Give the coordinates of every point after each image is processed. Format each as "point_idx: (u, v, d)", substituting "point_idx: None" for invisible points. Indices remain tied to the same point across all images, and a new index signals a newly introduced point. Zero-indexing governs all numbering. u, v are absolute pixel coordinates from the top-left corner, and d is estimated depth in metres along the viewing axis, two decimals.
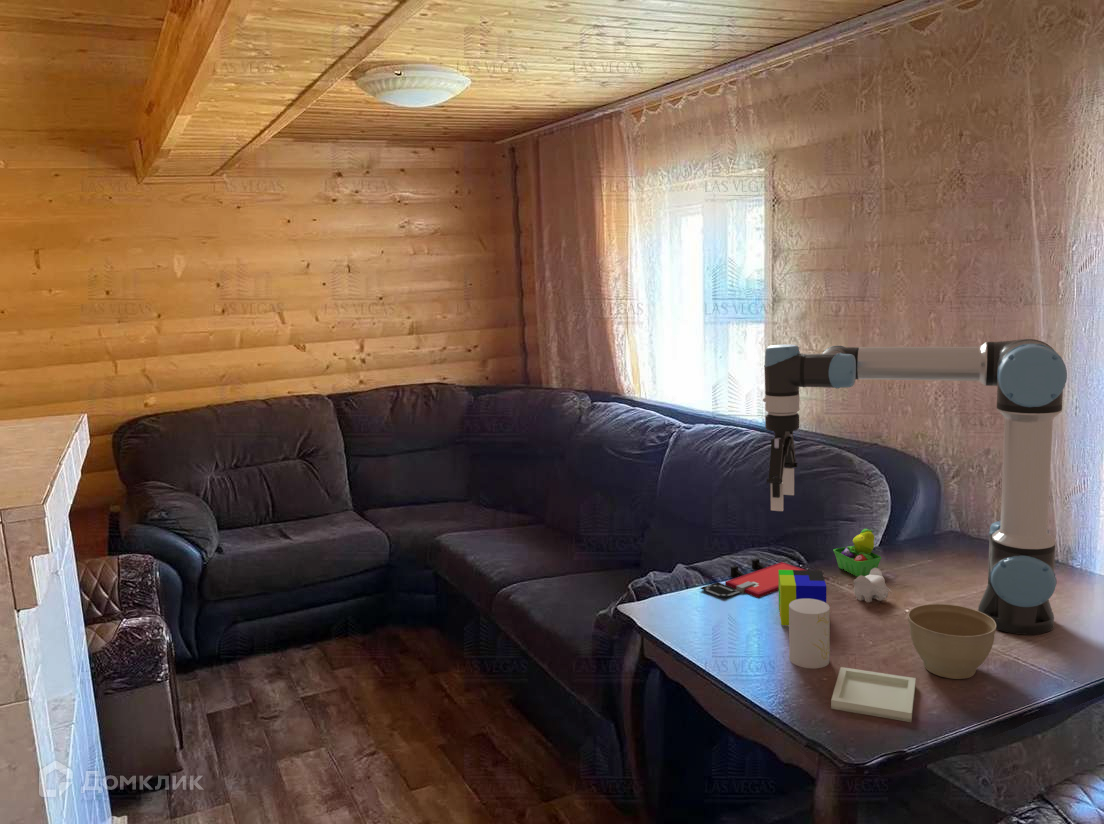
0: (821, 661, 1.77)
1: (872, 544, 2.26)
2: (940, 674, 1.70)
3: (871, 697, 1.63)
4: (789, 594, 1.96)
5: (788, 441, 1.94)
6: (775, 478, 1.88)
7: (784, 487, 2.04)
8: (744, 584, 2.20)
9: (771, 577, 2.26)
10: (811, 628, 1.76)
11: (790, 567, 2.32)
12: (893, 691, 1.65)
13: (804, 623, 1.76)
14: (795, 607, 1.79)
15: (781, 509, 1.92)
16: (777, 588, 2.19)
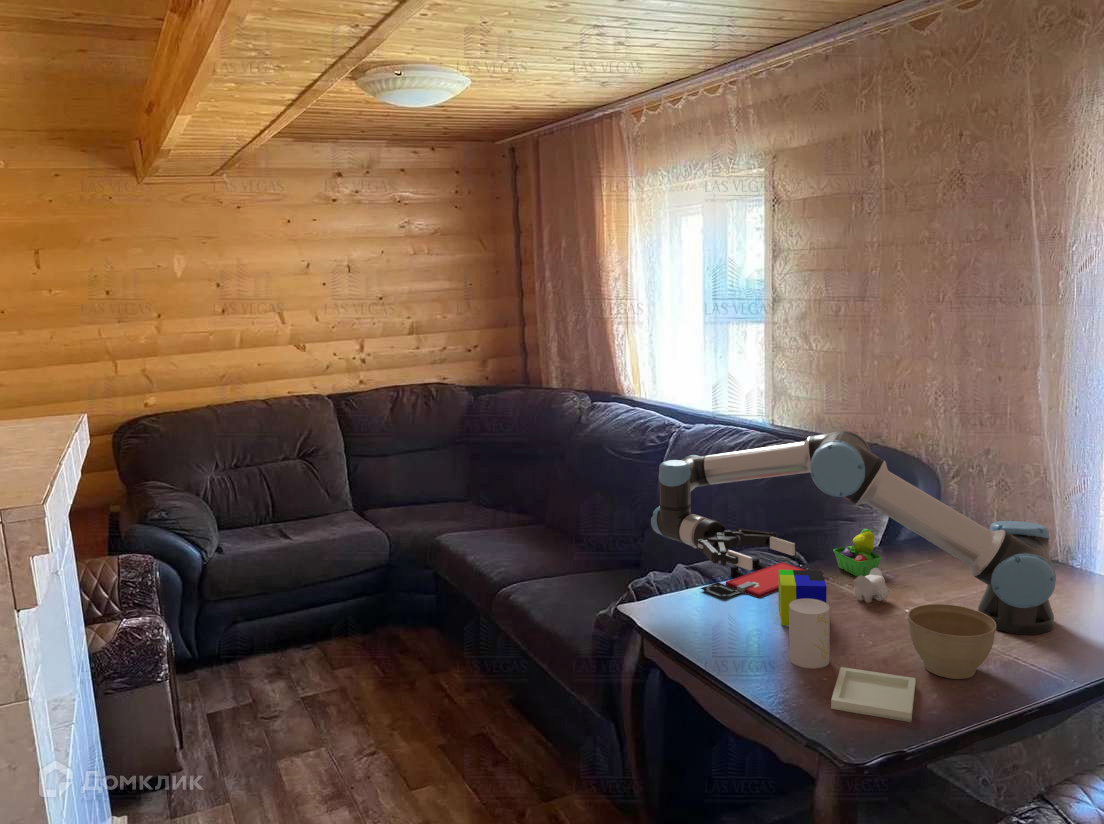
0: (821, 661, 1.77)
1: (872, 544, 2.26)
2: (940, 674, 1.70)
3: (871, 697, 1.63)
4: (789, 594, 1.96)
5: (716, 534, 1.97)
6: (712, 555, 1.87)
7: (786, 551, 1.91)
8: (744, 584, 2.20)
9: (771, 577, 2.26)
10: (811, 628, 1.76)
11: (790, 567, 2.32)
12: (893, 691, 1.65)
13: (804, 623, 1.76)
14: (795, 607, 1.79)
15: (748, 559, 1.82)
16: (777, 588, 2.19)
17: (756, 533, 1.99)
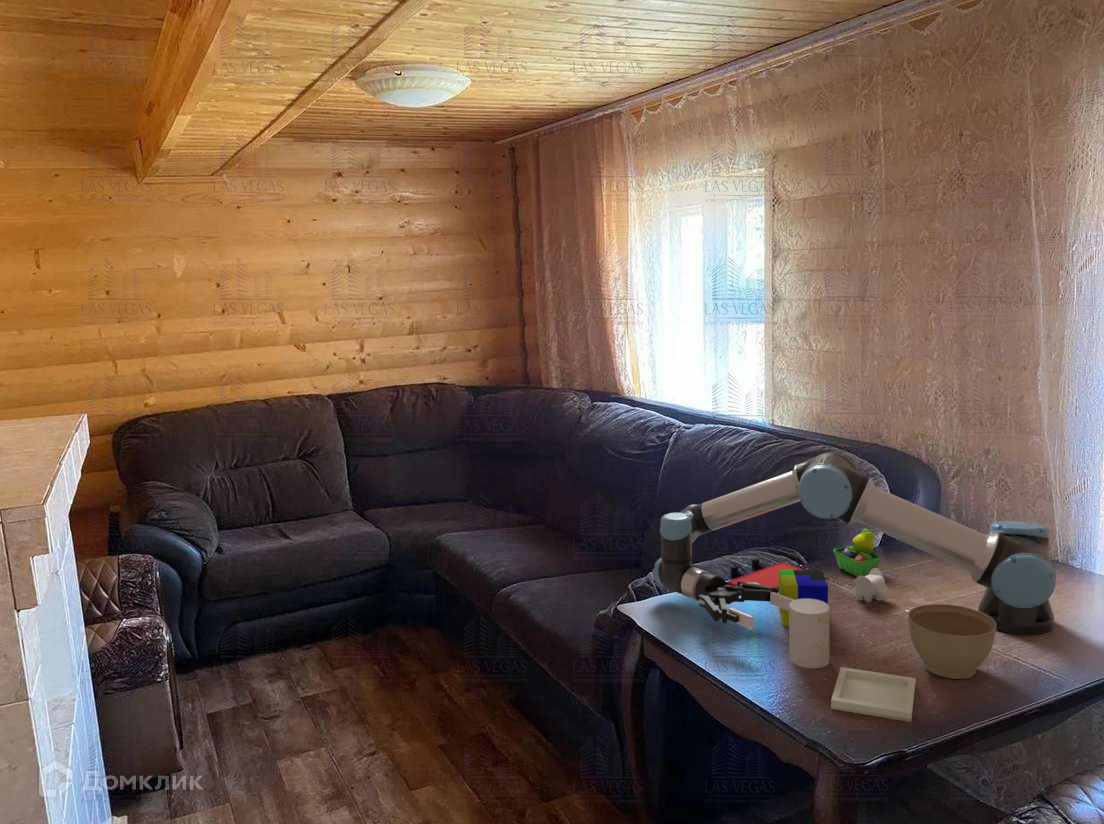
0: (821, 661, 1.77)
1: (872, 544, 2.26)
2: (940, 674, 1.70)
3: (871, 697, 1.63)
4: (791, 594, 1.96)
5: (717, 589, 1.99)
6: (714, 613, 1.89)
7: (786, 607, 1.93)
8: None
9: (771, 577, 2.25)
10: (811, 628, 1.76)
11: (790, 567, 2.32)
12: (893, 691, 1.65)
13: (804, 623, 1.76)
14: (795, 607, 1.79)
15: (749, 618, 1.84)
16: (778, 588, 2.19)
17: (757, 588, 2.01)
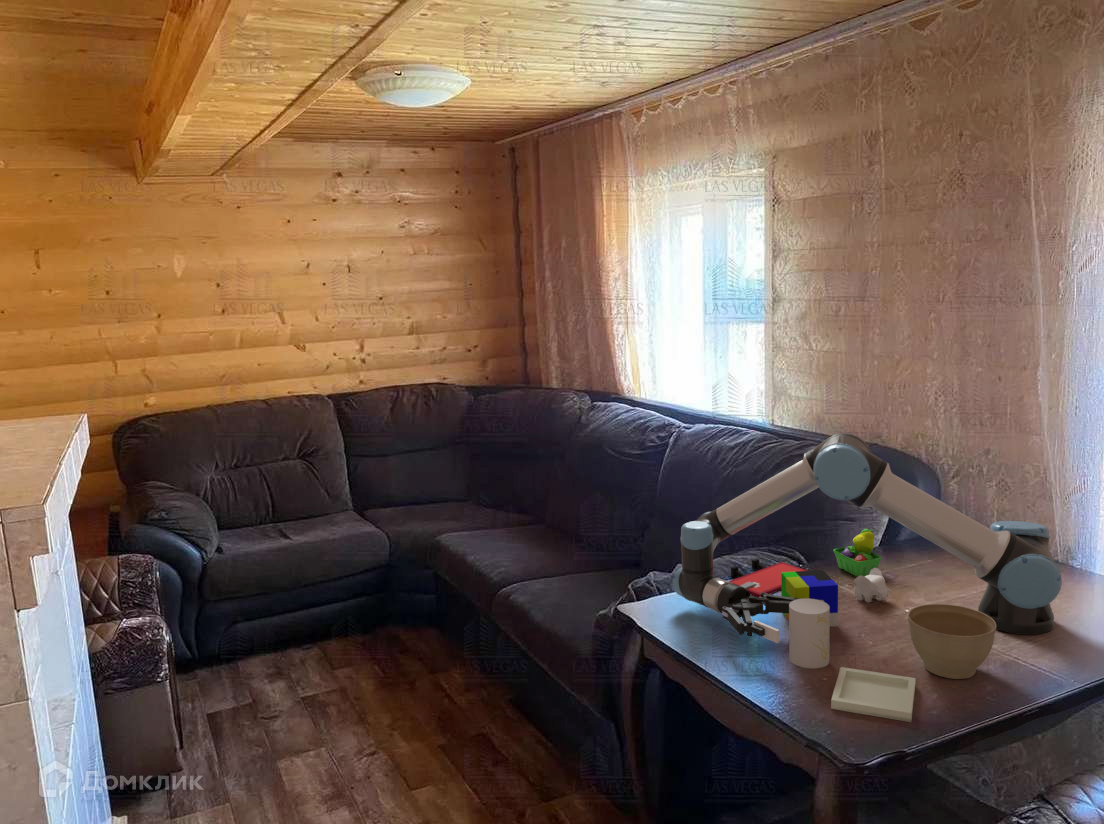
0: (821, 661, 1.77)
1: (872, 544, 2.26)
2: (940, 674, 1.70)
3: (871, 697, 1.63)
4: (802, 596, 1.95)
5: (741, 601, 1.92)
6: (738, 626, 1.83)
7: None
8: (745, 585, 2.20)
9: (771, 577, 2.25)
10: (811, 628, 1.76)
11: (790, 567, 2.32)
12: (893, 691, 1.65)
13: (804, 623, 1.76)
14: (795, 607, 1.79)
15: (775, 631, 1.78)
16: (778, 588, 2.19)
17: (781, 599, 1.94)
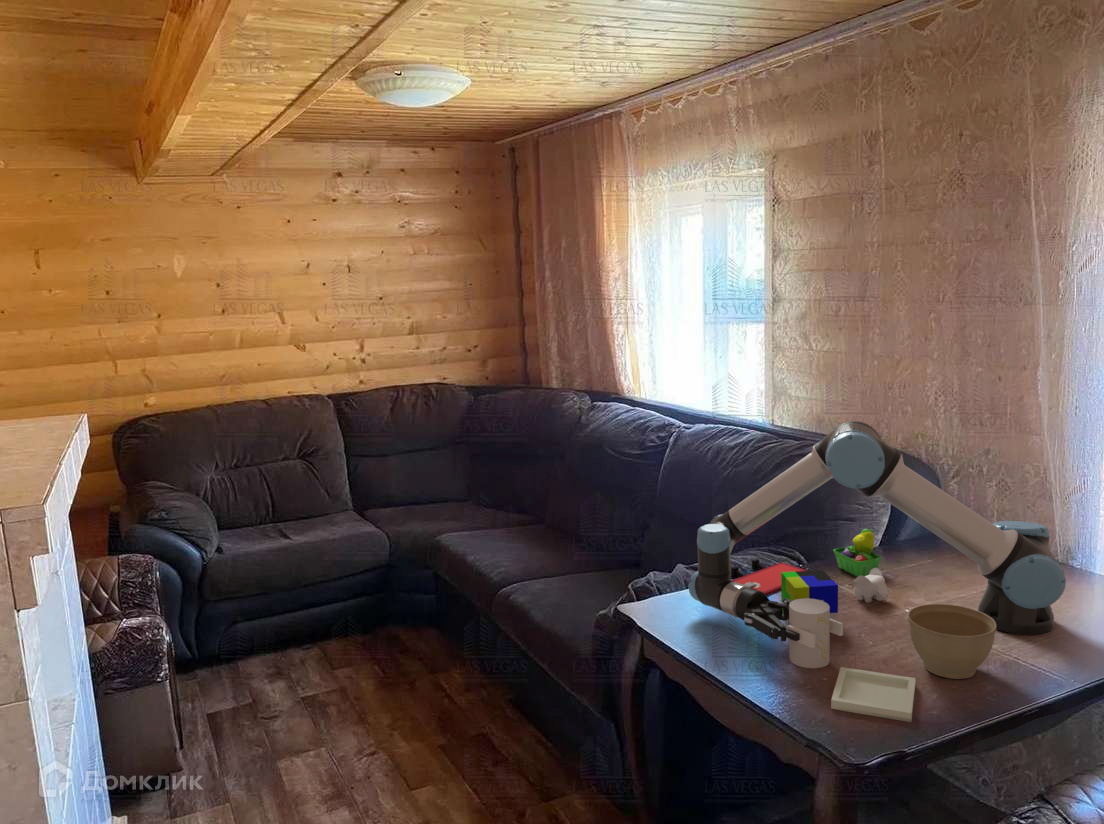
0: (821, 661, 1.77)
1: (872, 544, 2.26)
2: (940, 674, 1.70)
3: (871, 697, 1.63)
4: (802, 596, 1.95)
5: (761, 606, 1.88)
6: (772, 631, 1.79)
7: (833, 630, 1.80)
8: None
9: (771, 577, 2.25)
10: (811, 628, 1.76)
11: (790, 567, 2.32)
12: (893, 691, 1.65)
13: (804, 623, 1.76)
14: (795, 607, 1.79)
15: (811, 636, 1.74)
16: (778, 589, 2.19)
17: None
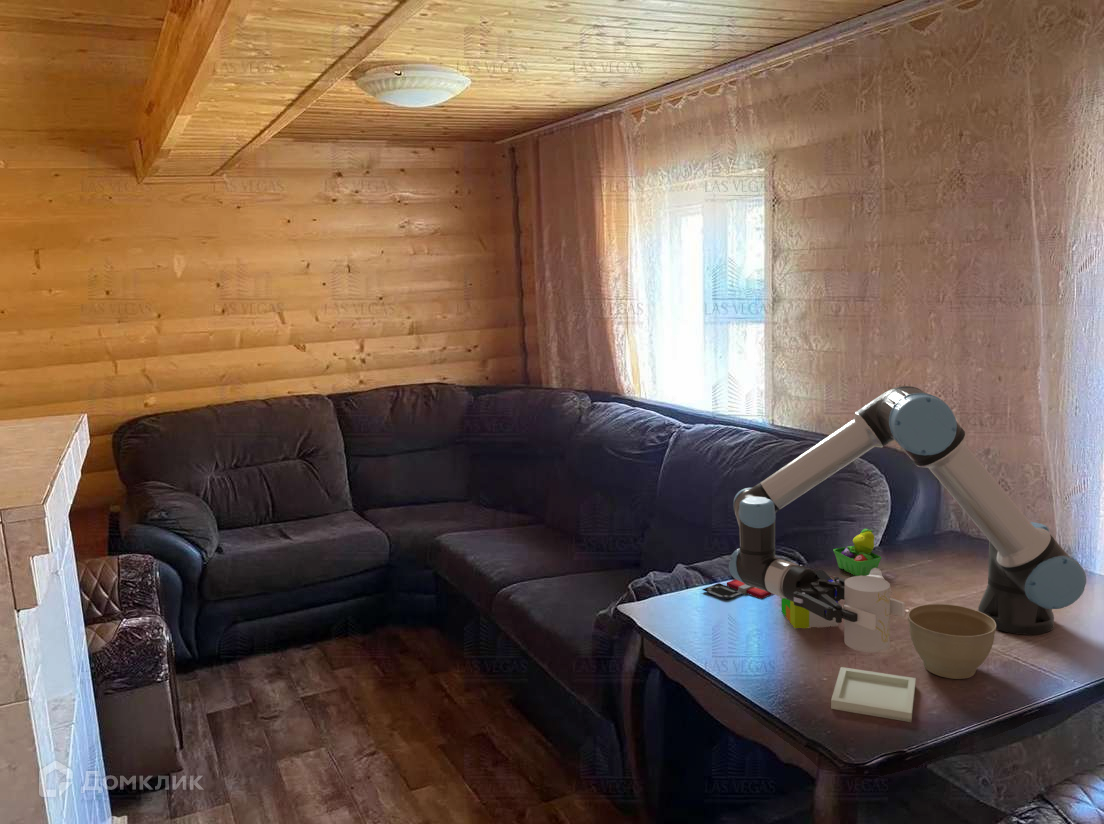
0: (881, 645, 1.60)
1: (872, 544, 2.26)
2: (940, 674, 1.70)
3: (871, 697, 1.63)
4: None
5: (811, 585, 1.71)
6: (826, 611, 1.62)
7: (893, 611, 1.63)
8: (746, 585, 2.19)
9: None
10: (870, 608, 1.59)
11: None
12: (893, 691, 1.65)
13: (862, 602, 1.59)
14: (851, 585, 1.62)
15: (871, 617, 1.56)
16: None
17: None
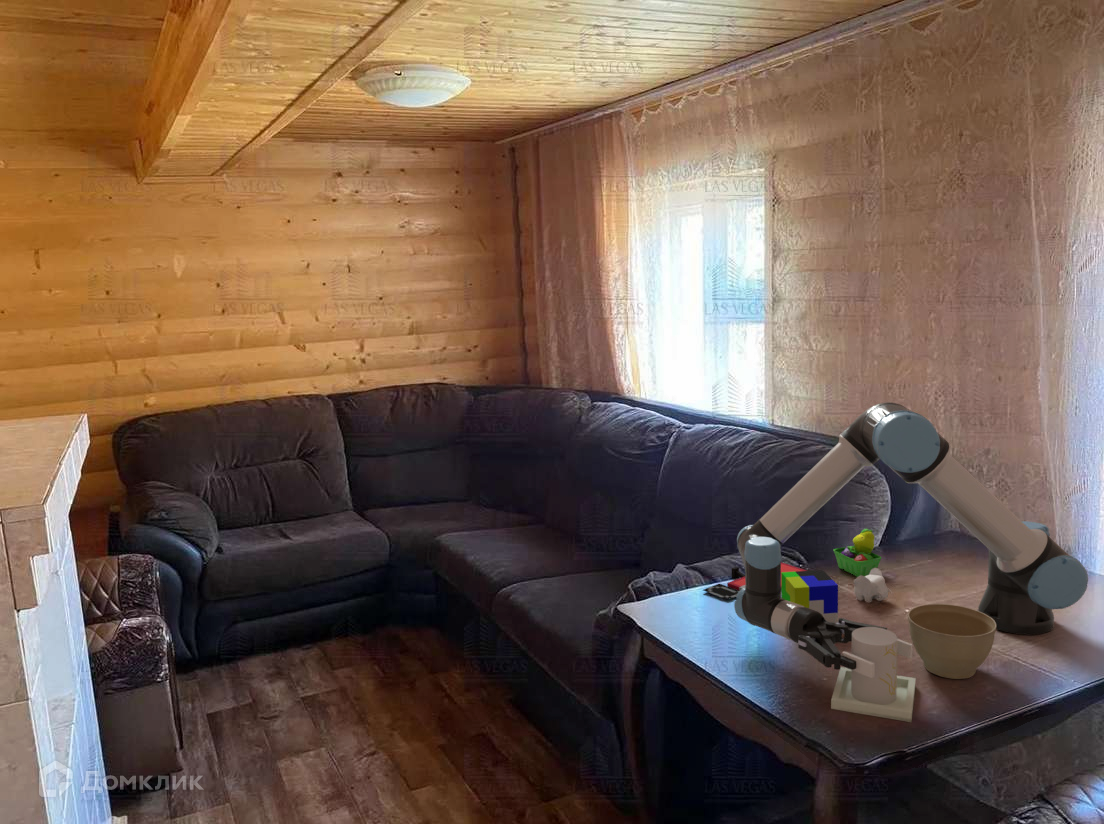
0: (888, 697, 1.60)
1: (872, 544, 2.26)
2: (940, 674, 1.70)
3: None
4: (802, 596, 1.95)
5: (818, 628, 1.71)
6: (825, 658, 1.61)
7: (901, 652, 1.64)
8: None
9: None
10: (877, 661, 1.59)
11: (790, 568, 2.32)
12: None
13: (869, 655, 1.59)
14: (859, 637, 1.62)
15: (870, 665, 1.56)
16: None
17: None
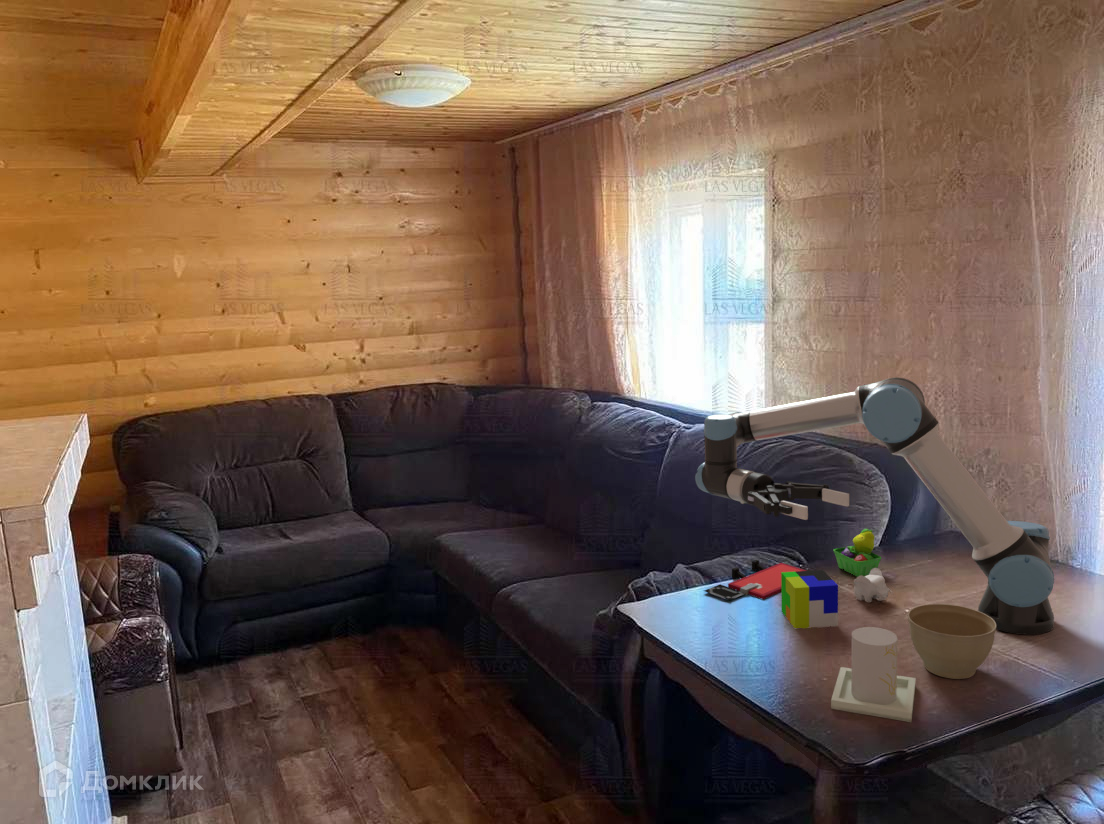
0: (888, 697, 1.60)
1: (872, 544, 2.26)
2: (940, 674, 1.70)
3: None
4: (802, 596, 1.95)
5: (766, 487, 1.91)
6: (765, 506, 1.81)
7: (839, 502, 1.85)
8: (748, 586, 2.19)
9: (772, 578, 2.25)
10: (877, 661, 1.59)
11: (790, 568, 2.32)
12: None
13: (869, 655, 1.59)
14: (859, 637, 1.62)
15: (803, 508, 1.76)
16: None
17: (807, 486, 1.93)
